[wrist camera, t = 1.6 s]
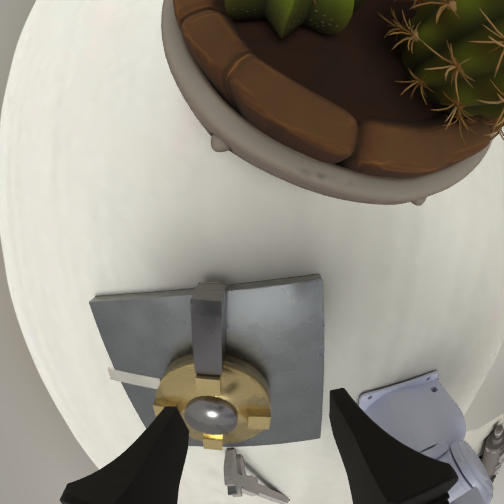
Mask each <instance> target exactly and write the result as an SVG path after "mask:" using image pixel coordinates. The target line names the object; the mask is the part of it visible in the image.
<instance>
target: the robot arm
mask: <svg viewBox="0 0 504 504" xmlns="http://www.w3.org/2000/svg"><path fill="white" fill-rule="evenodd" d="M438 375H439V373H438V372H437V371H434V372H431V373H429V374H426V375H423V376H420V377H417V378H415V379H412V380H409V381H406V382H402V383H399V384H396V385H393V386H389V387H386V388H382V389H379V390H375V391H371V392H367V393H364V394H362V395H361V396H360V398H359V404H358V405H357V404H356V402H355V401H354V400H353V399H352V398H351V396H350V395H349V394H348V392H347V391H346V390H345V389H344V388H340V389H335V390H331V391H330V414H329V418H330V422H331V427H332V431H333V435H334V438H335V441H336V444H337V447H338V449H339V452H340V455H341V458H342V461H343V463H344V466H345V469H346V472H347V476H348V480H349V485H350V490H351V495H352V500H353V504H489V503H490V502H491V499H492V497H493V484H492V481H491V480H490V478H489V476H488V474H487V471H486V469H485V467H484V465H483V463H482V462H481V460H480V458H479V457H478V455H477V454H476V453H475V451H474V450H473V449H472V447H471V446H470V445H469V444H468V443H467V442H466V441H463V440H464V437H465V432H466V424H465V419H464V416H463V413H462V411H461V410H460V408H459V407H458V405H457V404H456V403H455V401H454V400H453V399H452V397H451V396H450V395H449V394H448V392H447V391H446V390H445V388H444V387H443V386H442V384H441V383H440V382H439V381H438V379H437V378H438ZM188 442H189V429H188V428H187V426H186V424H185V422H184V420H183V418H182V416H181V414H180V412H179V410H178V408H177V407H176V406H165V407H164V408H163V410H162V411H161V412H160V413H159V414H158V416H157V417H156V418H155V419H154V420H153V422H152V423H151V424H150V425H149V426H148V428H147V429H146V430H145V431H144V432H143V433H142V434H141V436H140V437H139V438H138V439H137V440H136V441H135V442H134V443H133V444H132V445H131V446H130V447H129V448H128V449H127V450H126V451H125V452H123V453H122V454H121V455H120V456H119V457H117V458H116V459H115V460H113V461H112V462H111V463H109V464H108V465H106V466H105V467H103V468H101V469H100V470H98V471H97V472H94V473H93V474H91V475H89V476H87V477H84V478H82V479H80V480H77V481H74V482H71V483H68V484H67V486H66V488H65V490H64V492H63V494H62V496H61V498H60V501H61V503H62V504H177V500H178V490H179V484H180V479H181V475H182V471H183V467H184V463H185V459H186V454H187V450H188Z"/></svg>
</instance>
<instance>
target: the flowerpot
mask: <svg viewBox="0 0 504 504" xmlns="http://www.w3.org/2000/svg"><path fill="white" fill-rule="evenodd" d="M161 28H162V40H163V46H164V51H165V56H166V59H167V62H168V65H169V68H170V71H171V73H172V75H173V77H174V80H175V82H176V84H177V86H178V88H179V90H180V91H181V93H182V95H183V97H184V99H185V100H186V102H187V103H188V105H189V107H190V108H191V110H192V111H193V113H194V114H195V116H196V117H197V119H198V120H199V122H200V123H201V124H202V125H203V127H204V128H205V129H206V130H207V132H208V133H209V134H210V135H211V136H212V138H211V146H212V148H213V150H215V151H216V152H224V151H228V150H229V151H231V152H232V153H234V154H235V155H237V156H239V157H240V158H242V159H243V160H245V161H247V162H248V163H250V164H252V165H254V166H256V167H257V168H259V169H261V170H263V171H265V172H267V173H269V174H271V175H273V176H276V177H278V178H280V179H282V180H285V181H287V182H289V183H292V184H294V185H297V186H299V187H302V188H304V189H307V190H310V191H313V192H316V193H319V194H322V195H325V196H330V197H334V198H338V199H342V200H348V201H354V202H360V203H369V204H382V205H395V204H403V203H407V202H412V203H413V204H415V205H422V204H423V203H424V202H425V200H426V197H427V196H430V195H433V194H436V193H438V192H441V191H443V190H445V189H448V188H449V187H451V186H453V185H455V184H456V183H458V182H459V181H461V180H462V179H463V178H465V177H466V176H467V175H468V174H469V173H470V172H471V171H473V169H474V168H475V167H476V166H477V165H478V164H479V163H480V161H481V160H482V159H483V157H484V156H485V154H486V153H487V151H488V149H489V147H490V145H491V142H492V140H493V139H494V138H495V137H496V136H497V135H498V134H499V133H500V135H501V132H502V130H501V129H502V127H503V126H504V0H164V2H163V8H162V21H161ZM500 131H501V132H500ZM496 132H497V133H496ZM495 133H496V134H495ZM494 134H495V135H494ZM502 134H503V132H502ZM503 136H504V134H503ZM501 137H502V135H501ZM502 139H503V140H504V138H503V137H502Z"/></svg>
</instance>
